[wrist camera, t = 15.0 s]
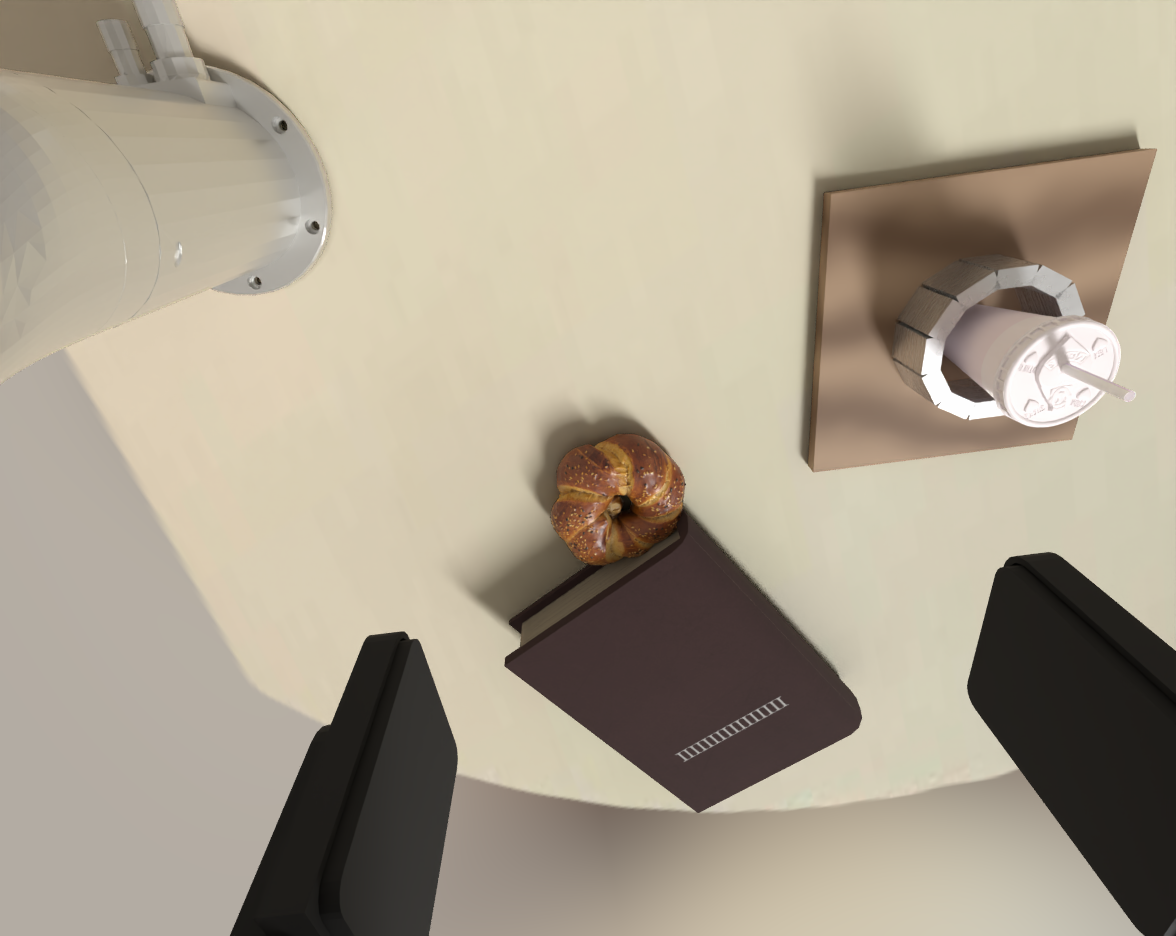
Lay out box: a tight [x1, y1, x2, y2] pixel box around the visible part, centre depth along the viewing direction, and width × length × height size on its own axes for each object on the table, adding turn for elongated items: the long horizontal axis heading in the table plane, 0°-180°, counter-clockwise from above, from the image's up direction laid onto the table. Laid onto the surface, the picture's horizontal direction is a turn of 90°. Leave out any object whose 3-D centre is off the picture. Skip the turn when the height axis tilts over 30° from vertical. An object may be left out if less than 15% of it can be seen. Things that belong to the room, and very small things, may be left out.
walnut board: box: [808, 149, 1157, 472], centre depth 42 cm, size 20×20×1 cm
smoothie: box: [943, 304, 1136, 427], centre depth 35 cm, size 6×6×14 cm
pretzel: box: [551, 434, 686, 566], centre depth 47 cm, size 12×11×4 cm
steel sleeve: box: [892, 254, 1085, 420], centre depth 40 cm, size 10×10×4 cm
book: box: [504, 509, 862, 813], centre depth 55 cm, size 28×20×6 cm
